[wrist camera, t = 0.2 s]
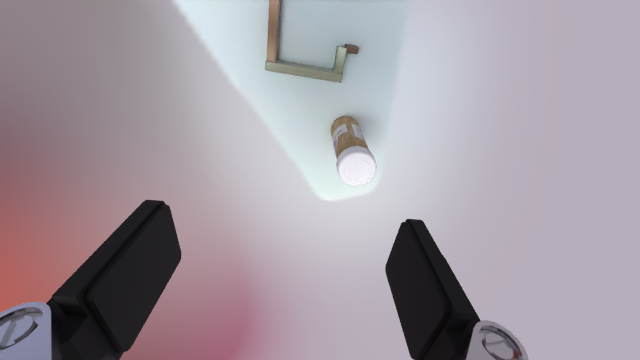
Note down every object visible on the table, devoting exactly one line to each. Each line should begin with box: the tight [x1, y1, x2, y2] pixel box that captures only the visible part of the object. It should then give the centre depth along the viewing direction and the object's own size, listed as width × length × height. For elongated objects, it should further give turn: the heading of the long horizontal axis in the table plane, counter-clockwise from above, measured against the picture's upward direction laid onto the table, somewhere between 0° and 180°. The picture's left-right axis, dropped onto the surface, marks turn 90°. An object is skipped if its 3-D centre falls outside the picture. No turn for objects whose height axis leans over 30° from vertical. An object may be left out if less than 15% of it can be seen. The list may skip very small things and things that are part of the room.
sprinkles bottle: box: [331, 116, 376, 186], centre depth 34 cm, size 5×5×13 cm
